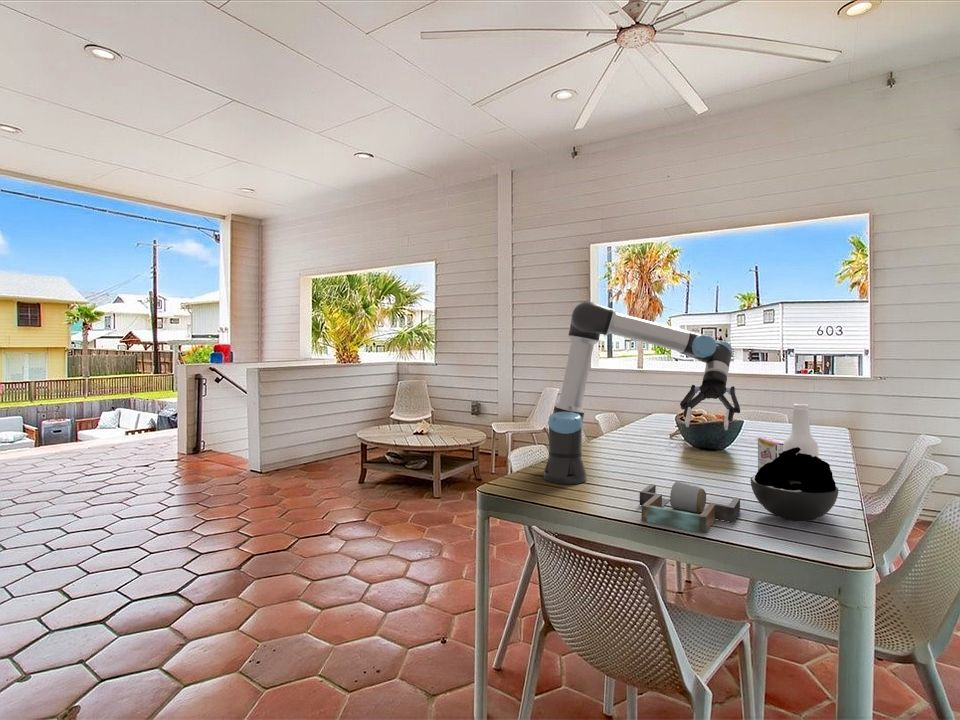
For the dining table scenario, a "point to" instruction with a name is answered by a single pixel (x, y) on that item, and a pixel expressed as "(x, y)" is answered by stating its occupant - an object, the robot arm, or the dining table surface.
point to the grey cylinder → (687, 497)
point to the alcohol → (801, 432)
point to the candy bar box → (768, 450)
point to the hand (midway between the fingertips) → (705, 426)
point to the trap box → (681, 519)
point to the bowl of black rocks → (795, 486)
